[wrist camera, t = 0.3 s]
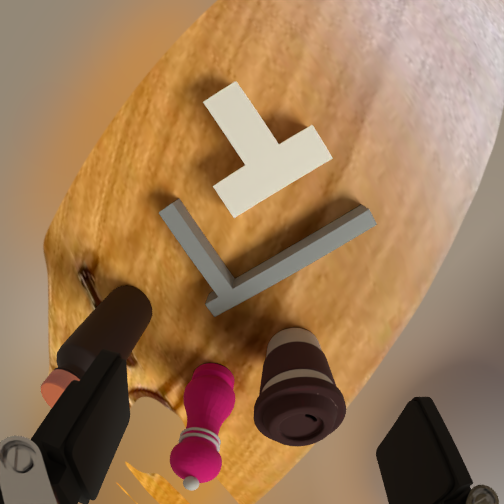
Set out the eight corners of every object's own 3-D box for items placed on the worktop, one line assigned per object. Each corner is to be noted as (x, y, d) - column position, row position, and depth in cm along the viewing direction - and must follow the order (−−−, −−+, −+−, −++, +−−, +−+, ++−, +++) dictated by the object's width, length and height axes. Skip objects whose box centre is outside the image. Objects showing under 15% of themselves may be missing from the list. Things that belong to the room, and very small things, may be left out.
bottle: (156, 328, 43) (101, 432, 24) (115, 325, 43) (48, 418, 25) (149, 284, 41) (77, 381, 22) (105, 283, 41) (23, 368, 22)
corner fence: (310, 115, 33) (314, 112, 30) (369, 218, 37) (376, 224, 34) (154, 216, 38) (145, 222, 35) (217, 305, 41) (214, 316, 39)
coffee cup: (266, 379, 45) (265, 459, 31) (249, 326, 42) (241, 406, 28) (332, 366, 44) (351, 444, 30) (322, 310, 41) (345, 386, 27)
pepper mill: (180, 371, 45) (144, 478, 27) (217, 352, 44) (191, 468, 25) (210, 400, 47) (188, 505, 28) (247, 383, 46) (236, 496, 27)
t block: (269, 70, 32) (269, 61, 28) (325, 157, 35) (332, 158, 31) (181, 126, 34) (171, 124, 31) (237, 210, 37) (234, 218, 34)
